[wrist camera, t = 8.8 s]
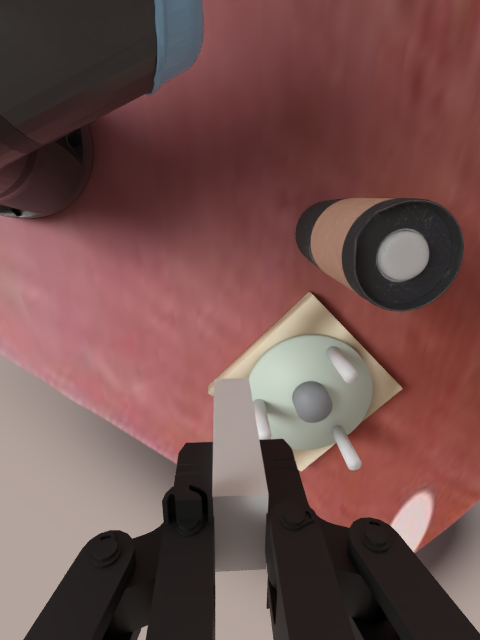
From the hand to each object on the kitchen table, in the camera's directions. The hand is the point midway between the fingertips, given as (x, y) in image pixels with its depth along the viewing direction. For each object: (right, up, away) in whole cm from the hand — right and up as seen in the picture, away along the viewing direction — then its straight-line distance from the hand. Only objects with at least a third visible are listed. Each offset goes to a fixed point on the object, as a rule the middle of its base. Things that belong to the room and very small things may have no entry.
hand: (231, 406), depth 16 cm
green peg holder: (+9, -5, +31) cm, 32 cm away
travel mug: (+10, +14, +27) cm, 32 cm away
